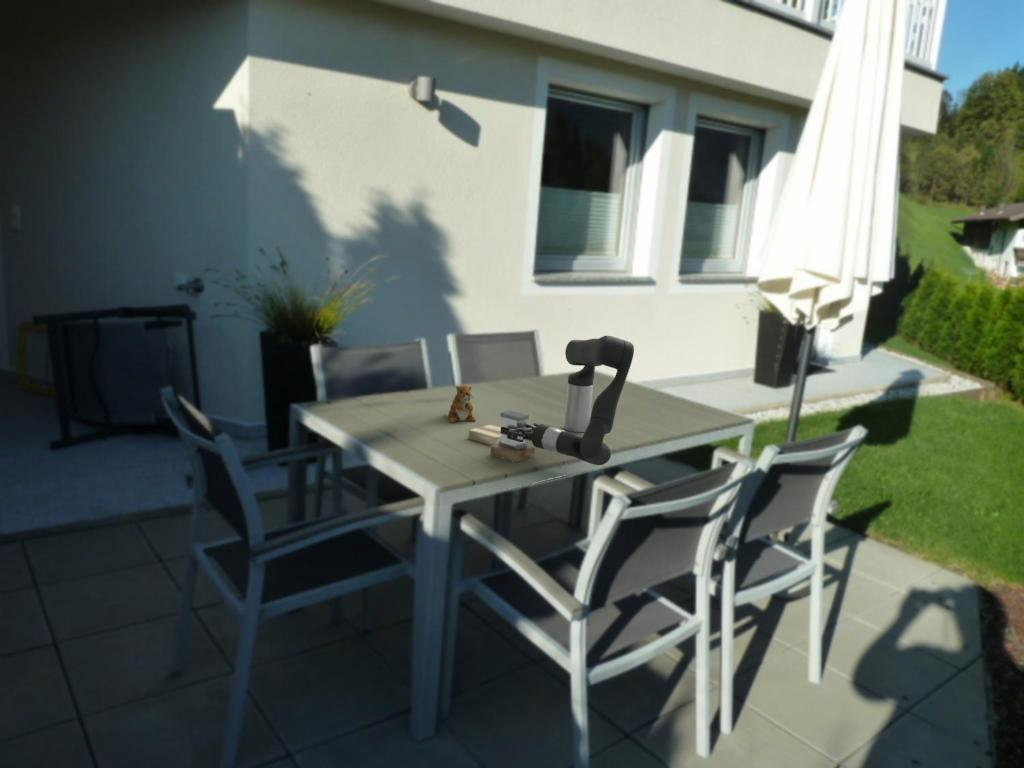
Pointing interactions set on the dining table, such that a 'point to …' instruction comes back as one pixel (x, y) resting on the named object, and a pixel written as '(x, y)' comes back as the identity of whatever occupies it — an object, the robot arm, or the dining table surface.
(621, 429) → the dining table surface
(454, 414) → the stuffed squirrel
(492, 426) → the cream slab
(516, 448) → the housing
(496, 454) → the walnut stand
